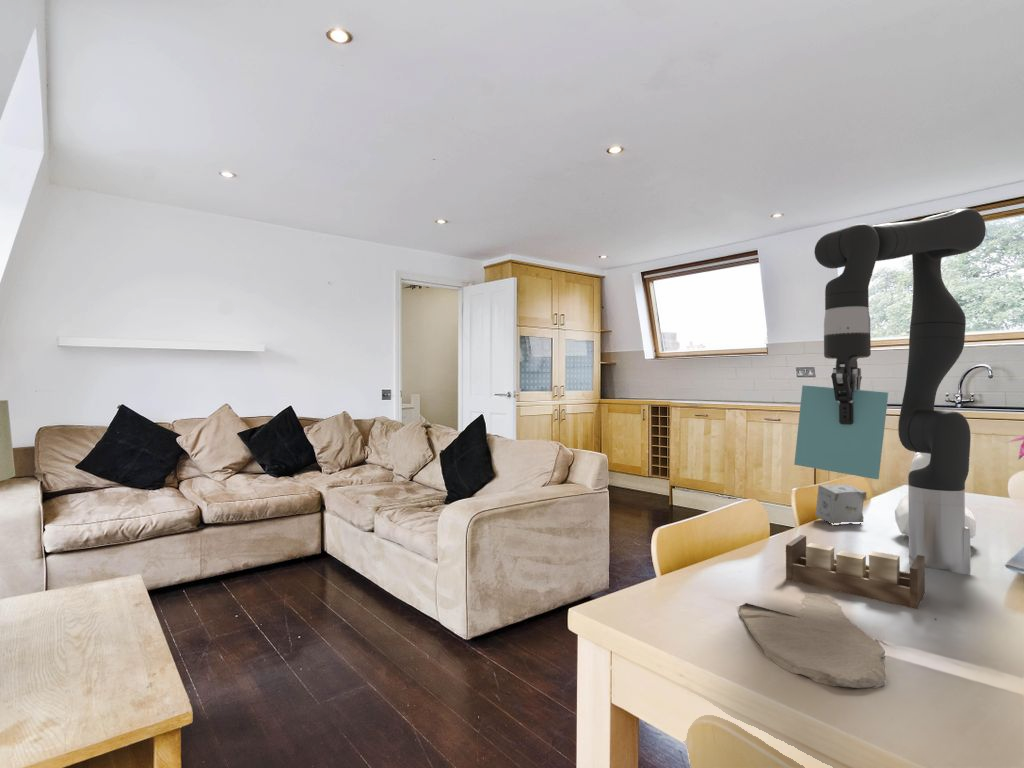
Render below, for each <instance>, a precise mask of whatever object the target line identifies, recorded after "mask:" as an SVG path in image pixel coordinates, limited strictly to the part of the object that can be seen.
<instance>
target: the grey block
mask: <svg viewBox="0 0 1024 768" xmlns="http://www.w3.org/2000/svg"><path fill="white" fill-rule="evenodd" d="M867 493H868V492H867V491H865V490H862V489H859V488H857V487H855V486H854V485H853V486H852V485H850V484H819V485H818V487H817V495H816V497H817V499H816V507H815V517H817V518H818V519H821V520H822V521H824V520H825V521H824V522H826V521H828V522H830V523H833V524H834V523H841V522H863V523H864V515H863V512H864V511H863V510H864V501H866V500H867V499H868V498H867ZM828 522H827V523H828Z"/></svg>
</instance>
